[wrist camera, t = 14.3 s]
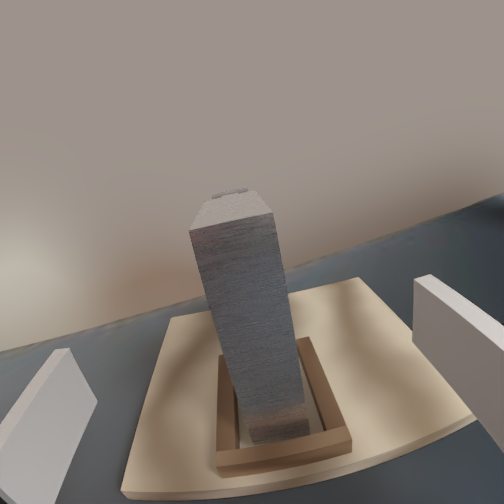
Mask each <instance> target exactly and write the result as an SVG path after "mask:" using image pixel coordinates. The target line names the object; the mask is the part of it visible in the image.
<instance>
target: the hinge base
mask: <svg viewBox="0 0 504 504" xmlns="http://www.w3.org/2000/svg"><path fill="white" fill-rule="evenodd" d="M288 298H289V304H290V309H291V315H292V321H293V327H294V333H295V339H296V345H297V351H298V357H299V363H300V369H301V376H302V382H303V388H304V395H305V401H306V408H307V415H308V421H309V428H310V435H308V436H304V437H299V438H295V439H290V440H286V441H281V442H276V443H271V444H265V445H259V446H254V445H253V443H252V440H251V437H250V434H249V431H248V428H247V425H246V423H245V420H244V417H243V414H242V411H241V408H240V405H239V402H238V399H237V396H236V393H235V390H234V387H233V383H232V380H231V377H230V374H229V371H228V368H227V365H226V361H225V358H224V355H223V352H222V348H221V345H220V342H219V339H218V335H217V332H216V328H215V325H214V322H213V318H212V315H211V311H210V310H209V311H204V312H198V313H193V314H188V315H183V316H177V317H172V318H171V320H170V323H169V326H168V329H167V332H166V335H165V338H164V341H163V344H162V347H161V350H160V353H159V356H158V359H157V363H156V366H155V369H154V372H153V375H152V379H151V382H150V385H149V388H148V392H147V395H146V398H145V402H144V405H143V409H142V412H141V415H140V419H139V422H138V426H137V430H136V433H135V437H134V440H133V444H132V448H131V451H130V455H129V459H128V463H127V466H126V470H125V474H124V478H123V482H122V486H121V490H120V491H121V492H122V493H123V494H124V495H125V496H126V497H127V498H128V499H131V500H158V501H175V500H203V499H217V498H228V497H238V496H246V495H254V494H260V493H267V492H273V491H279V490H284V489H289V488H294V487H299V486H304V485H308V484H312V483H317V482H321V481H325V480H329V479H332V478H336V477H340V476H343V475H346V474H350V473H353V472H356V471H360V470H363V469H366V468H369V467H372V466H375V465H378V464H380V463H383V462H386V461H389V460H391V459H394V458H397V457H399V456H402V455H404V454H407V453H409V452H412V451H414V450H416V449H419V448H421V447H423V446H425V445H428V444H430V443H432V442H434V441H436V440H439V439H441V438H443V437H445V436H447V435H449V434H451V433H453V432H455V431H457V430H459V429H461V428H462V427H464V426H466V425H468V424H470V423H472V422H474V421H475V420H477V418H476V417H475V416H474V414H473V413H472V412H471V411H470V409H469V408H468V407H467V406H466V404H465V403H464V402H463V401H462V400H461V398H460V397H459V396H458V395H457V393H456V392H455V391H454V390H453V389H452V387H451V386H450V385H449V384H448V383H447V381H446V380H445V379H444V378H443V377H442V376H441V374H440V373H439V372H438V371H437V370H436V369H435V367H434V366H433V365H432V364H431V363H430V362H429V360H428V359H427V358H426V357H425V356H424V355H423V354H422V352H421V351H420V350H419V349H418V348H417V347H416V346H415V344H414V343H413V342H412V331H411V330H410V329H409V328H408V327H407V325H406V324H405V323H404V322H403V321H402V320H401V319H400V318H399V317H398V316H397V315H396V314H395V313H394V312H393V311H392V310H391V309H390V308H389V307H388V306H387V305H386V304H385V303H384V302H383V301H382V300H381V299H380V298H379V297H378V296H377V295H376V294H375V293H374V292H373V291H372V290H371V289H370V288H369V287H368V286H367V285H366V284H365V283H364V282H363V281H362V280H361V279H360V278H359V277H356V278H352V279H348V280H344V281H340V282H336V283H332V284H328V285H324V286H320V287H315V288H311V289H307V290H303V291H298V292H294V293H289V294H288Z"/></svg>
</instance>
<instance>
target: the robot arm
mask: <svg viewBox="0 0 504 504" xmlns="http://www.w3.org/2000/svg"><path fill="white" fill-rule="evenodd" d="M412 342H413V343H414V344H415V346H416V347H417V348H418V349H419V350H420V351H421V352H422V354H423V355H424V356H425V357H426V358H427V359H428V360H429V362H430V363H431V364H432V365H433V366H434V367H435V369H436V370H437V371H438V372H439V373H440V374H441V376H442V377H443V378H444V379H445V380H446V381H447V383H448V384H449V385H450V386H451V387H452V389H453V390H454V391H455V392H456V393H457V395H458V396H459V397H460V398H461V400H462V401H463V402H464V403H465V404H466V406H467V407H468V408H469V409H470V411H471V412H472V413H473V414H474V416H475V417H476V418H477V419H478V421H479V422H480V423H481V424H482V426H483V427H484V428H485V429H486V431H487V432H488V433H489V435H490V436H491V437H492V438H493V440H494V441H495V442H496V444H497V445H498V446H499V448H500V449H501V450H502V452H503V453H504V323H503V324H500V323H499V322H497V321H496V320H495V319H493V318H492V317H491V316H489V315H488V314H487V313H485V312H484V311H483V310H481V309H480V308H478V307H477V306H476V305H474V304H473V303H471V302H470V301H469V300H467V299H466V298H464V297H463V296H462V295H460V294H459V293H457V292H456V291H454V290H453V289H451V288H450V287H449V286H447V285H446V284H444V283H443V282H441V281H440V280H438V279H437V278H435V277H434V276H432V275H431V274H430V275H426V276H423V277H419V278H416V279H414V306H413V332H412ZM97 402H98V401H97V399H96V397H95V396H94V394H93V392H92V390H91V389H90V387H89V385H88V383H87V381H86V380H85V378H84V376H83V374H82V372H81V370H80V368H79V367H78V365H77V363H76V361H75V359H74V357H73V355H72V353H71V351H70V349H69V348H65V349H56V350H54V352H53V353H52V354H51V355H50V357H49V358H48V359H47V361H46V362H45V363H44V364H43V366H42V367H41V368H40V370H39V371H38V372H37V374H36V375H35V376H34V378H33V379H32V380H31V382H30V383H29V384H28V386H27V387H26V388H25V390H24V391H23V393H22V394H21V395H20V397H19V398H18V400H17V401H16V402H15V404H14V405H13V407H12V408H11V410H10V411H9V412H8V414H7V415H6V417H5V418H4V420H3V421H2V423H1V424H0V504H55V501H56V499H57V496H58V493H59V491H60V488H61V486H62V483H63V481H64V478H65V476H66V473H67V471H68V468H69V466H70V463H71V461H72V458H73V456H74V454H75V451H76V449H77V447H78V444H79V442H80V440H81V437H82V435H83V433H84V431H85V428H86V426H87V424H88V422H89V419H90V417H91V415H92V413H93V411H94V408H95V406H96V404H97Z"/></svg>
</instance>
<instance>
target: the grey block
mask: <svg viewBox="0 0 504 504" xmlns="http://www.w3.org/2000/svg"><path fill="white" fill-rule="evenodd" d="M189 234H190V237H191V242H192V246H193V249H194V253H195V257H196V261H197V264H198V268H199V272H200V275H201V279H202V283H203V287H204V290H205V294H206V297H207V301H208V304H209V308H210V311H211V315H212V318H213V322H214V325H215V328H216V332H217V335H218V339H219V342H220V345H221V348H222V352H223V355H224V358H225V361H226V365H227V368H228V371H229V374H230V377H231V380H232V383H233V387H234V390H235V393H236V396H237V399H238V402H239V405H240V408H241V411H242V414H243V417H244V420H245V423H246V425H247V428H248V431H249V434H250V437H251V440H252V443H253V445H254V446H259V445H265V444H271V443H276V442H281V441H286V440H290V439H295V438H299V437H304V436H308V435H310V428H309V421H308V415H307V408H306V401H305V395H304V388H303V382H302V376H301V369H300V363H299V357H298V351H297V345H296V339H295V333H294V327H293V321H292V315H291V309H290V304H289V298H288V292H287V287H286V281H285V276H284V270H283V265H282V259H281V254H280V248H279V243H278V238H277V232H276V227H275V222H274V217H273V212H272V211H271V210H270V208H269V207H268V206H267V205H266V203H265V202H264V201H263V200H262V199H261V197H260V196H259V195H258V194H257V193H256V191H248V188H243V189H236V190H231V191H226V192H222V193H219V194H216V195H213V196H212V200H208V201H205V202H204V204H203V206H202V208H201V210H200V211H199V213H198V215H197V216H196V218H195V220H194V222H193V224H192V225H191V227H190V229H189Z"/></svg>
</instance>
